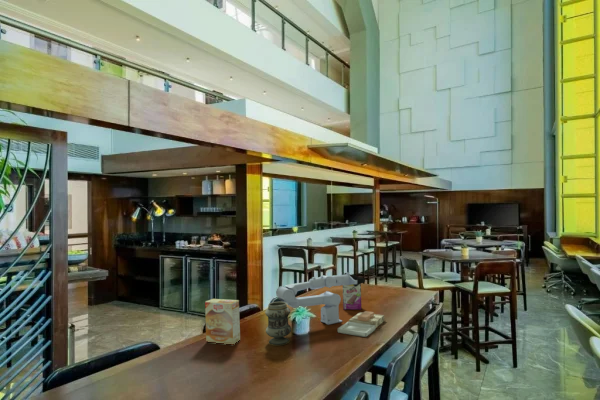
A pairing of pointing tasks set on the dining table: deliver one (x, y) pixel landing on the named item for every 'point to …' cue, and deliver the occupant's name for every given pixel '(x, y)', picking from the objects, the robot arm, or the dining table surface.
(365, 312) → the back tile
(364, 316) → the front tile
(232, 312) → the coffeecake box
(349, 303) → the candy bar box
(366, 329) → the box
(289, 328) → the carved stone vase
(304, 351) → the dining table surface
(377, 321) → the plate
